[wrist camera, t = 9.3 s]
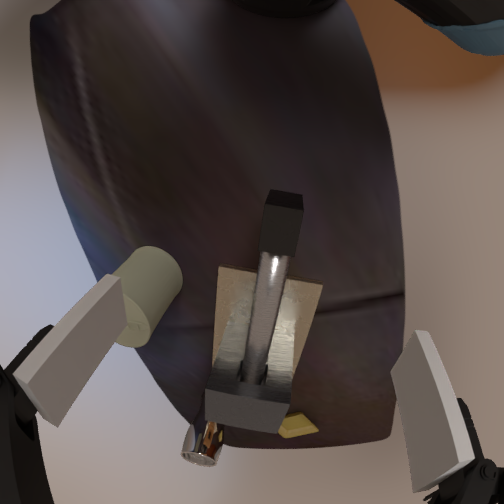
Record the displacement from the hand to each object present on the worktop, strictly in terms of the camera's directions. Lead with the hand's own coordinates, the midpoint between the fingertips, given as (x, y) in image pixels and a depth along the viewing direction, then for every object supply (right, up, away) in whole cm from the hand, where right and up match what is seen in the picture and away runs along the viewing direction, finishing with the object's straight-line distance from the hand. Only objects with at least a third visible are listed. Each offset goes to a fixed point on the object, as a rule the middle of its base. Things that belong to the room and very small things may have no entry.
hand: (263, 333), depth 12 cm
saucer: (+9, -33, +43) cm, 54 cm away
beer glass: (-8, -27, +42) cm, 50 cm away
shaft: (+1, -3, +20) cm, 21 cm away
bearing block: (+1, -11, +33) cm, 34 cm away
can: (-15, 0, +30) cm, 34 cm away
